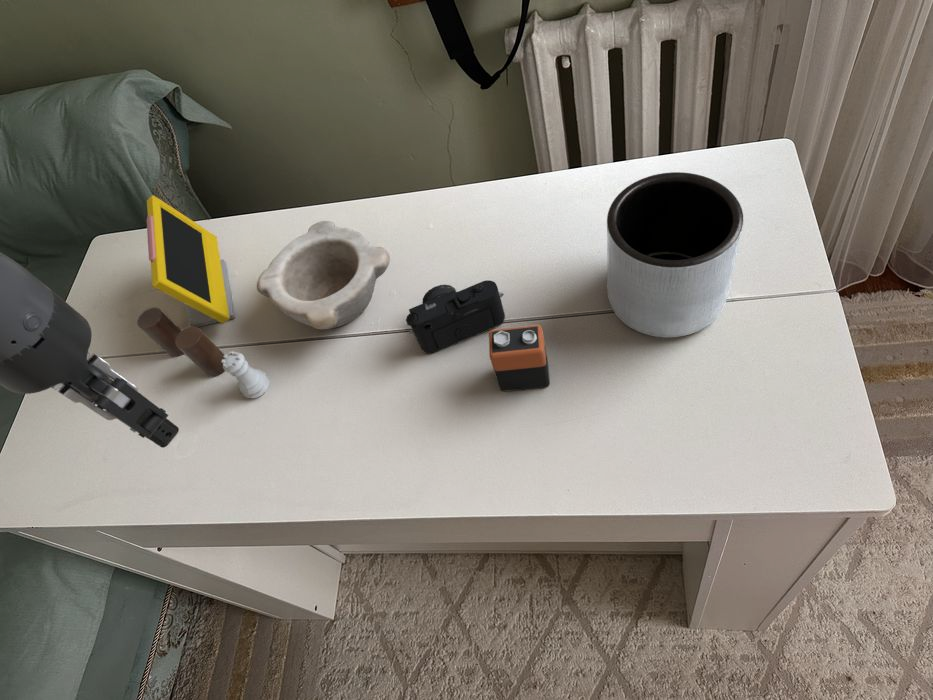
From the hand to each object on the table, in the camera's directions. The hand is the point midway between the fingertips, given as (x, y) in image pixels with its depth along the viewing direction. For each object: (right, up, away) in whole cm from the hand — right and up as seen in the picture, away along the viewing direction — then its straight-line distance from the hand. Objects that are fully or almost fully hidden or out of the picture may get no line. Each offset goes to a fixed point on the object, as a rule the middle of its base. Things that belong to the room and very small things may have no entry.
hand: (141, 419), depth 59 cm
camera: (+30, +10, +34) cm, 46 cm away
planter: (+59, +14, +30) cm, 67 cm away
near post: (-8, +4, +39) cm, 40 cm away
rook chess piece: (-1, +1, +35) cm, 35 cm away
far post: (-16, +7, +43) cm, 46 cm away
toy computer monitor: (-13, +15, +48) cm, 52 cm away
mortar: (+11, +14, +41) cm, 45 cm away
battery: (+39, +3, +27) cm, 47 cm away
